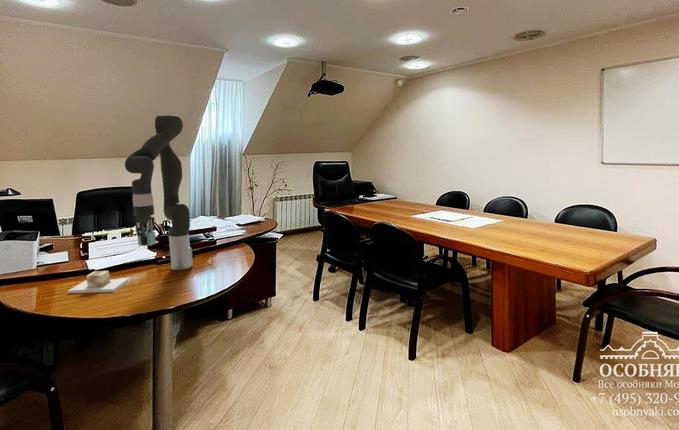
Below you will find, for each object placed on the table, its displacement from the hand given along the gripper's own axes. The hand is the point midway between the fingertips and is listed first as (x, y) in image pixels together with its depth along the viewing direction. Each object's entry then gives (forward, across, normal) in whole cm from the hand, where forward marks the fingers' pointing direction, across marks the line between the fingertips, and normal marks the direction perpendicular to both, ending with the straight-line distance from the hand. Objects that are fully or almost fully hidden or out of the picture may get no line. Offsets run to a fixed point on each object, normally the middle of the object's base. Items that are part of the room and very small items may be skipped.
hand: (147, 243), depth 155 cm
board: (+19, 0, -22) cm, 29 cm away
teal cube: (0, 0, 0) cm, 0 cm away
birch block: (+18, 0, -22) cm, 28 cm away
